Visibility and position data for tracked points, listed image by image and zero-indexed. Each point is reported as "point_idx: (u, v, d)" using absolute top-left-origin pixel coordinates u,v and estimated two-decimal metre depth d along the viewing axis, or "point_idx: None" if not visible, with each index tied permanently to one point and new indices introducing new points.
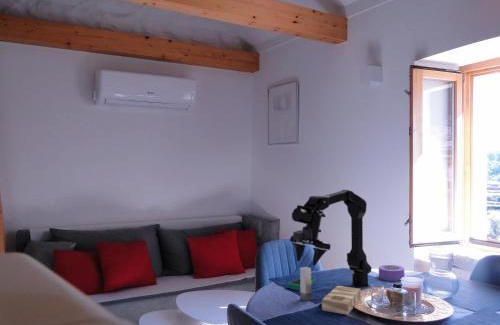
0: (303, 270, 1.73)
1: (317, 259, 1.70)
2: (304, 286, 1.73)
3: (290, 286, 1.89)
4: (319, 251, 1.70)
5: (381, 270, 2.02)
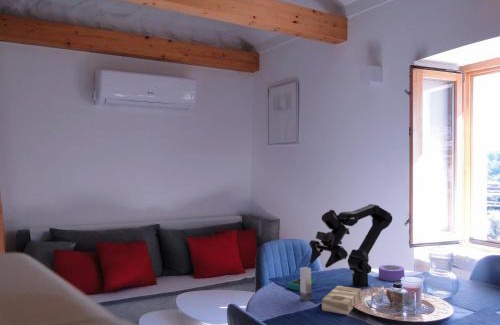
0: (303, 270, 1.73)
1: (331, 263, 1.75)
2: (303, 286, 1.73)
3: (290, 286, 1.89)
4: (335, 257, 1.76)
5: (381, 270, 2.02)
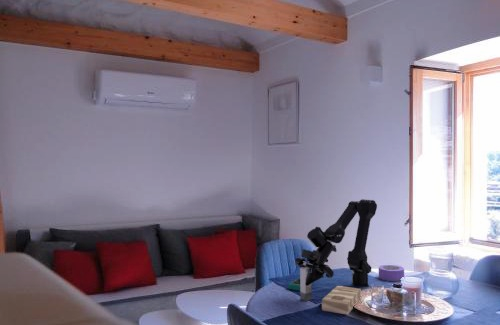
0: (303, 270, 1.73)
1: (311, 281, 1.73)
2: (303, 286, 1.73)
3: (291, 287, 1.88)
4: (316, 274, 1.74)
5: (381, 270, 2.02)
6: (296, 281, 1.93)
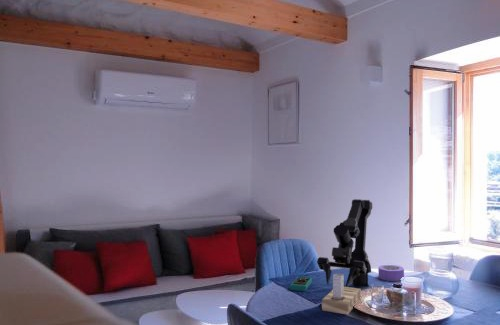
0: (338, 276, 1.63)
1: (350, 280, 1.62)
2: (338, 293, 1.62)
3: (293, 287, 1.87)
4: (353, 273, 1.64)
5: (381, 270, 2.02)
6: (296, 281, 1.93)
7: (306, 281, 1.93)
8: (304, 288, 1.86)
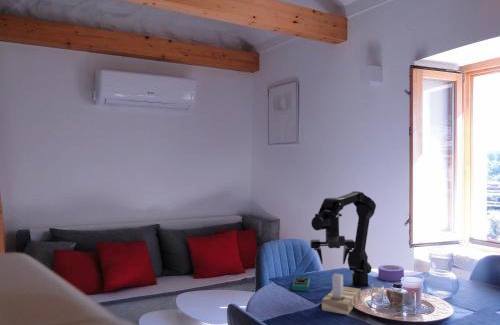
0: (337, 277, 1.62)
1: None
2: (338, 294, 1.62)
3: (296, 288, 1.86)
4: None
5: (381, 270, 2.02)
6: (296, 282, 1.92)
7: (306, 281, 1.93)
8: (307, 288, 1.86)
